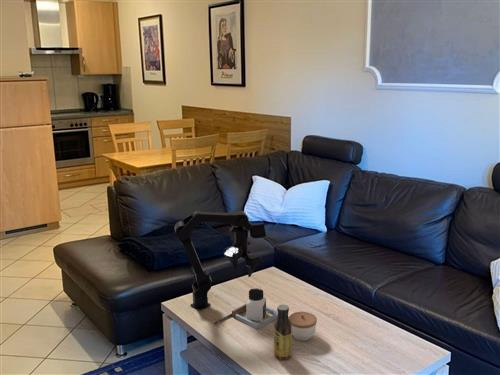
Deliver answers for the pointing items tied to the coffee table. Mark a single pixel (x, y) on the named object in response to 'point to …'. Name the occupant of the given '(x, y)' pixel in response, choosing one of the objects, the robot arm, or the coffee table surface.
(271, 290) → the coffee table surface
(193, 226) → the robot arm
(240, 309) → the wooden plank
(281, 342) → the sauce bottle
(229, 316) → the rail
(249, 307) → the medicine bottle
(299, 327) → the lidded jar
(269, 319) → the grey angle bracket
